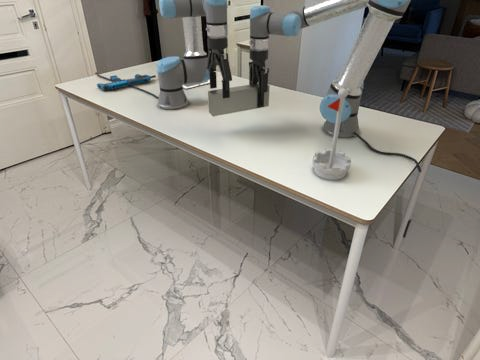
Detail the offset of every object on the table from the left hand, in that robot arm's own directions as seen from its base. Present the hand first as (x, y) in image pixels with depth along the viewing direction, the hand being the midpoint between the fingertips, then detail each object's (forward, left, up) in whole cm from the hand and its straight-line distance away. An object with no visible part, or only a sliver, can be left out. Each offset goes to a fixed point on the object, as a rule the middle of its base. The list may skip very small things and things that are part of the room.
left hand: (219, 92), depth 137 cm
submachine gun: (-95, -5, -18) cm, 97 cm away
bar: (+2, +9, -9) cm, 12 cm away
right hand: (+3, +17, -8) cm, 20 cm away
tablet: (-78, +27, -18) cm, 85 cm away
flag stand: (+50, +13, -18) cm, 54 cm away
